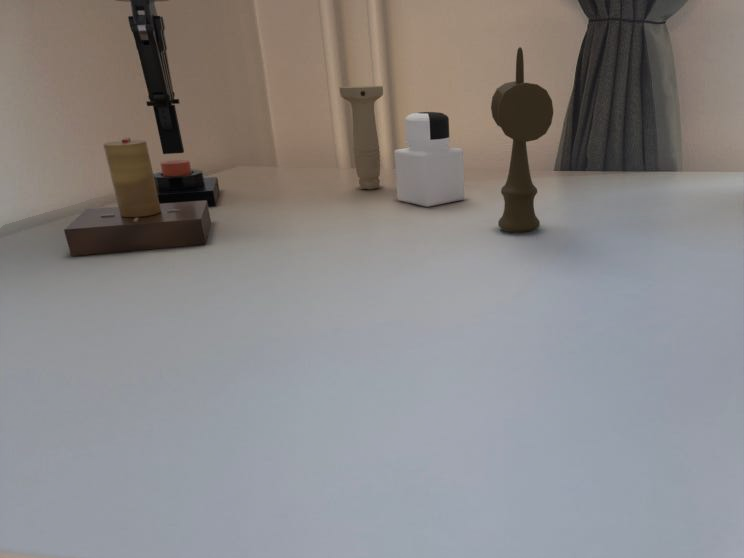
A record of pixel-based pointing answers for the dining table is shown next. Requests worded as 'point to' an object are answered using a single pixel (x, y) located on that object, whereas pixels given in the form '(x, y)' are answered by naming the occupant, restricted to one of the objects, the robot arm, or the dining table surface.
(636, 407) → the dining table surface
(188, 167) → the release button
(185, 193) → the release housing
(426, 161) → the medicine bottle
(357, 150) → the handle
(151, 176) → the yellow cylinder
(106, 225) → the plate
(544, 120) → the kendama
